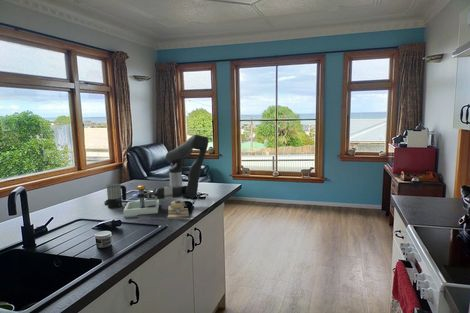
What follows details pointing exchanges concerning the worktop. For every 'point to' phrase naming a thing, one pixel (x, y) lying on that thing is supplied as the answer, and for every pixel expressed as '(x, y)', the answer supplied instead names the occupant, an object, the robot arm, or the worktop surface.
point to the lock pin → (141, 191)
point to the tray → (134, 208)
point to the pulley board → (173, 213)
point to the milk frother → (115, 195)
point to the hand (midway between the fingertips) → (138, 194)
